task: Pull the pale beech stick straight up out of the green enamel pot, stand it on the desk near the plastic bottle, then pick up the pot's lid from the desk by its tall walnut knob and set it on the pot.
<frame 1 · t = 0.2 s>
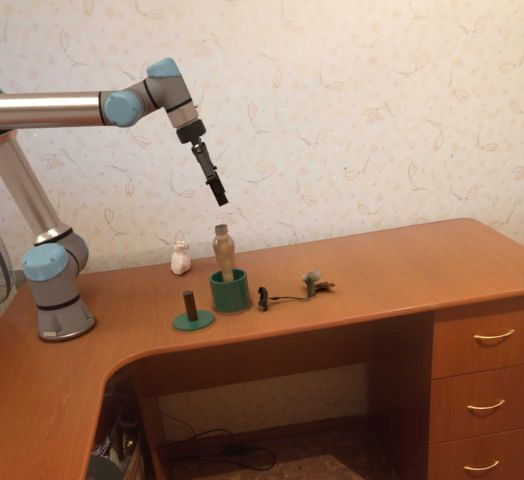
hand: (222, 199, 148), 28 cm above the table, tool tilted 15°, fingers open, 13 cm apart
pot: (232, 306, 152), on the table
stick: (232, 304, 152), resting on pot
artificial flower: (296, 299, 152), on the table
lid: (193, 321, 146), point 1 cm above the table
bust: (182, 271, 182), on the table
plastic bottle: (230, 290, 163), on the table
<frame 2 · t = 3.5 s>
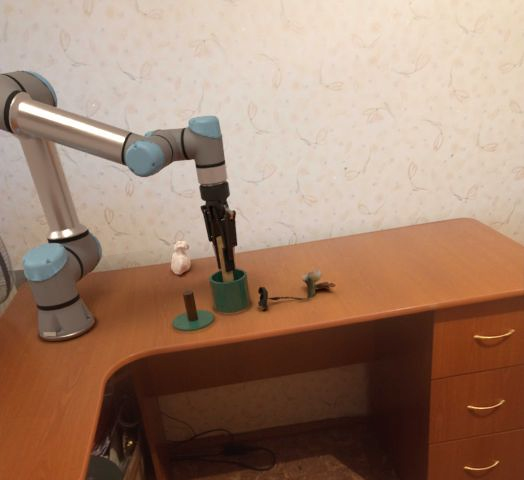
hand: (226, 268, 147), 12 cm above the table, tool pointing down, fingers closed on stick, 3 cm apart
stick: (232, 304, 152), point 1 cm above the table, touching gripper, pot
everything else where it was.
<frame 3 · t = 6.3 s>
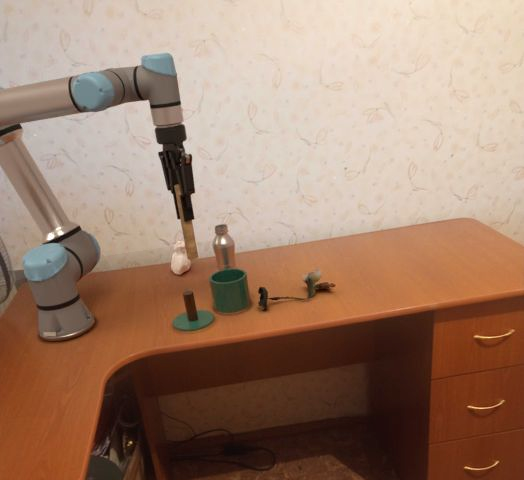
hand: (185, 218, 142), 26 cm above the table, tool pointing down, fingers closed on stick, 3 cm apart
stick: (192, 257, 148), point 15 cm above the table, touching gripper
everything else where it was.
when the fingers open (11 cm above the table, at t = 9.0 s): stick stays where it is, on the table.
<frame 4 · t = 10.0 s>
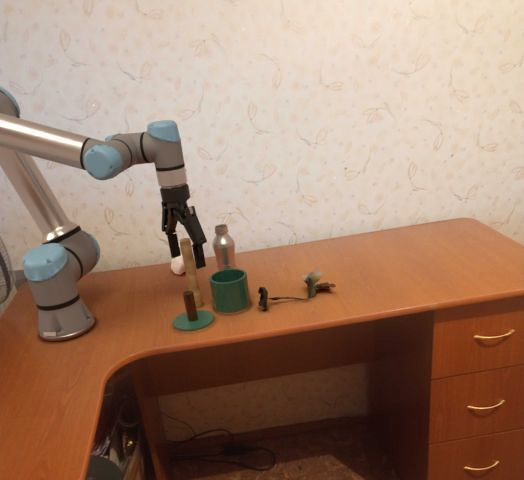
hand: (188, 262, 149), 14 cm above the table, tool pointing down, fingers open, 13 cm apart
stick: (197, 305, 156), on the table
everything else where it was.
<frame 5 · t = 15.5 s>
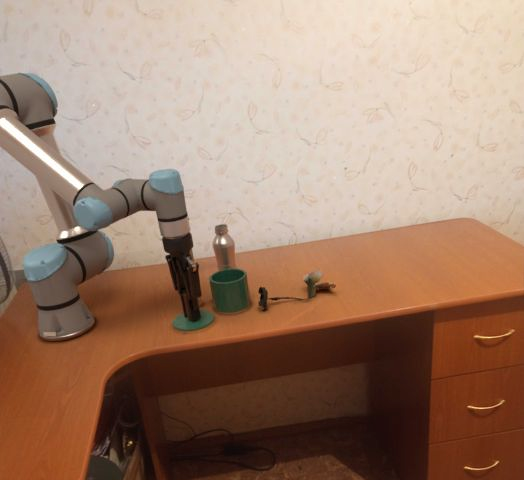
hand: (192, 317, 145), 2 cm above the table, tool pointing down, fingers closed on lid, 3 cm apart
lid: (193, 321, 146), point 1 cm above the table, touching gripper
everything else where it was.
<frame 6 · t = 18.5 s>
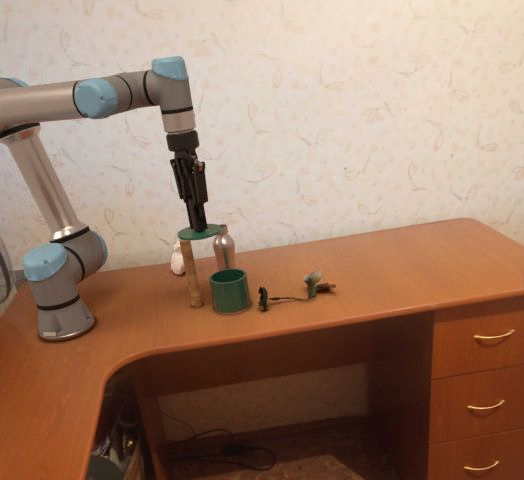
hand: (199, 228, 137), 25 cm above the table, tool pointing down, fingers closed on lid, 3 cm apart
lid: (199, 232, 137), point 24 cm above the table, touching gripper
everything else where it was.
when the fingers open (11 cm above the table, at t = 21.4 s): lid stays where it is, resting on pot.
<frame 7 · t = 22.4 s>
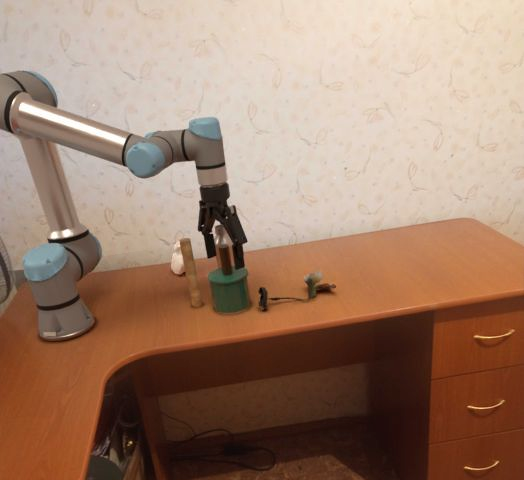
hand: (225, 262, 146), 13 cm above the table, tool pointing down, fingers open, 13 cm apart
lid: (228, 275, 148), point 9 cm above the table, touching pot
everything else where it was.
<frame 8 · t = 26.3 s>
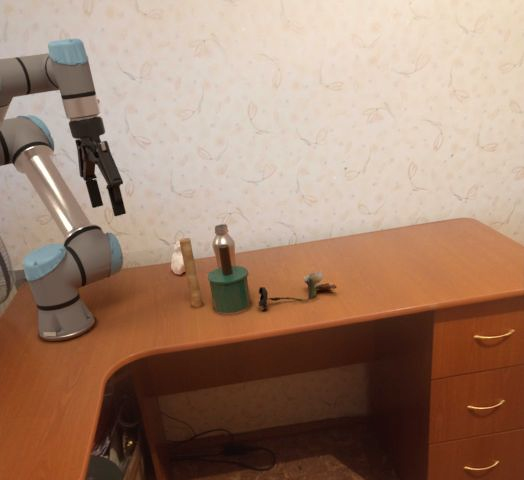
hand: (108, 210, 131), 33 cm above the table, tool pointing down, fingers open, 13 cm apart
nothing on the table moved.
at the end: stick inside the target area (0.1 cm from its centre), on the table; lid 0.0 cm off-centre on the pot, point 9.5 cm above the pot's base; lid tilted 0° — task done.
